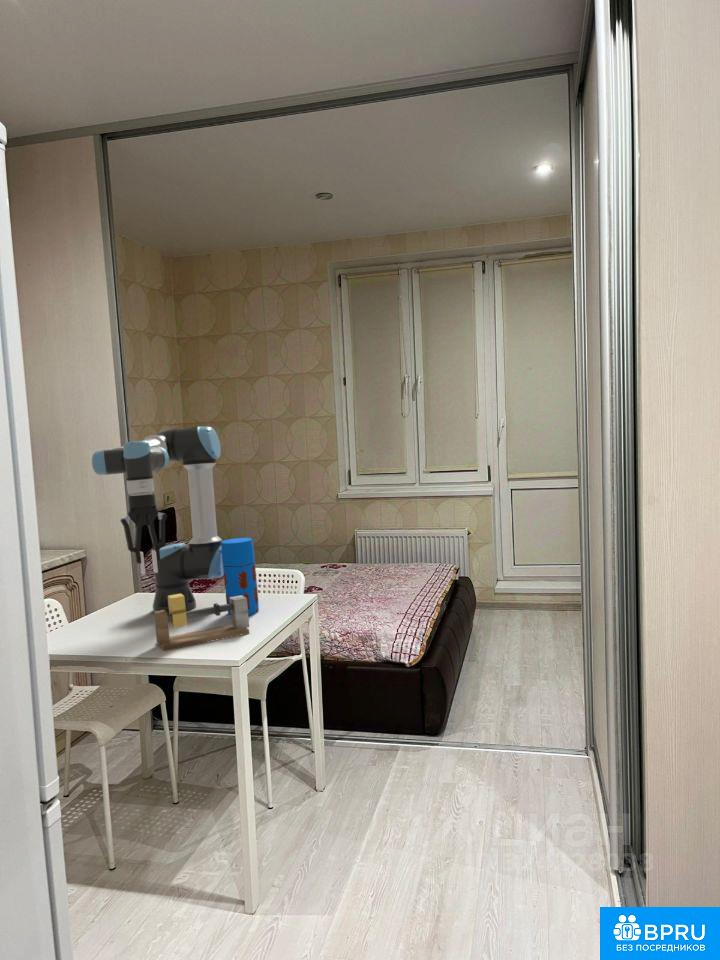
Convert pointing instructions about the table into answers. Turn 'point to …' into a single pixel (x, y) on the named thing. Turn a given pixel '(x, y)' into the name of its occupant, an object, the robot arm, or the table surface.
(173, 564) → the robot arm
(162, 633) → the rod stand
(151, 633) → the table surface
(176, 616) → the sleeve
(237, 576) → the thermos
